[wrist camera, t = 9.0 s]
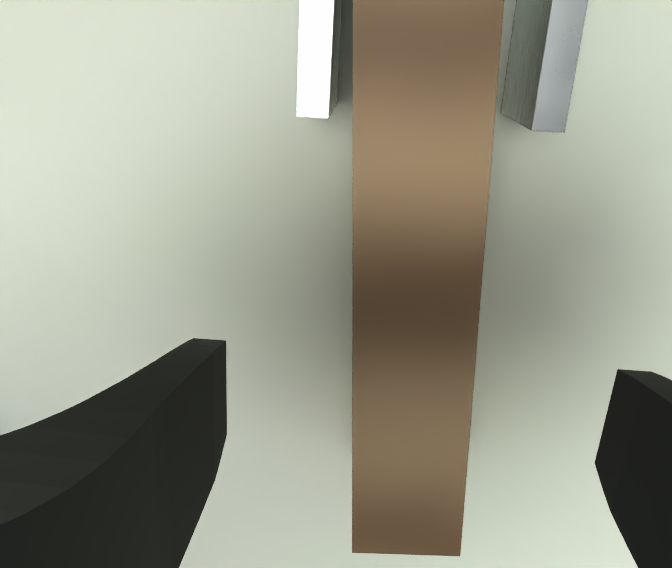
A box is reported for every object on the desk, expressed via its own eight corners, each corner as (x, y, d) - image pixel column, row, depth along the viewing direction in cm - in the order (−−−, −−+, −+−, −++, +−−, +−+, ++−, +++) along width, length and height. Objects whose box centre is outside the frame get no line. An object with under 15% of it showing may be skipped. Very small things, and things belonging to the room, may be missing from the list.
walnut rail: (441, 445, 24) (459, 556, 19) (356, 443, 24) (352, 552, 19) (469, -24, 18) (507, -49, 13) (358, -22, 18) (352, -46, 13)
